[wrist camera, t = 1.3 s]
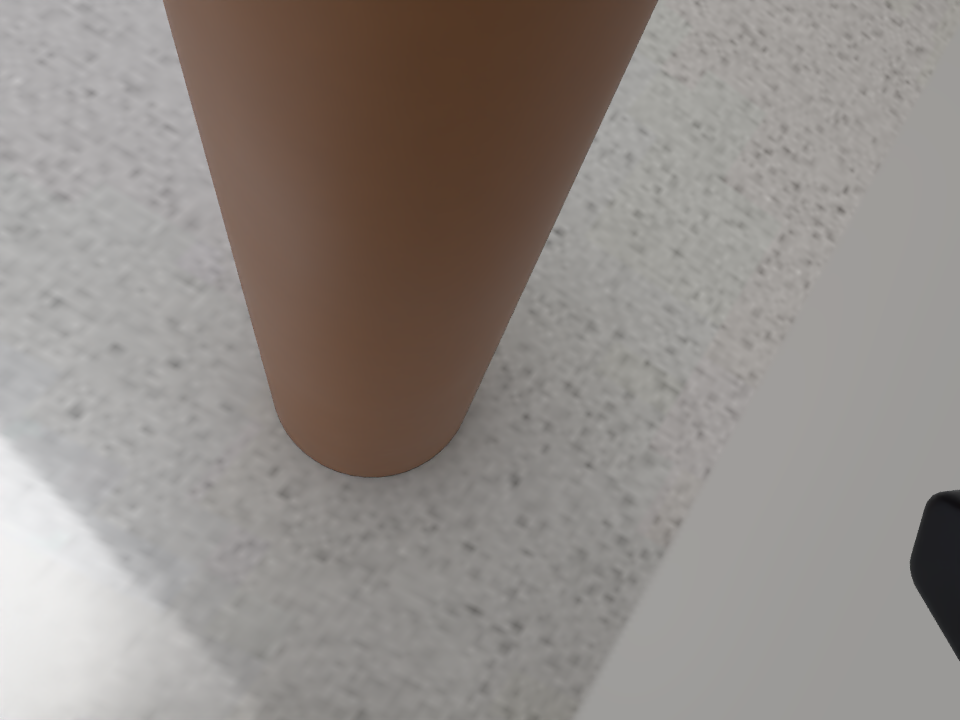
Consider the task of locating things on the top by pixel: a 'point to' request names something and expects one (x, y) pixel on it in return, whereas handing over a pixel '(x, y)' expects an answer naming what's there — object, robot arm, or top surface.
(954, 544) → the robot arm
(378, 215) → the orange cylinder
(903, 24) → the top surface
